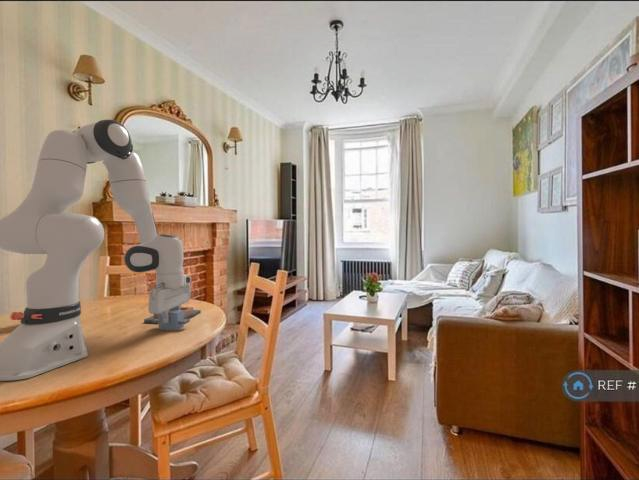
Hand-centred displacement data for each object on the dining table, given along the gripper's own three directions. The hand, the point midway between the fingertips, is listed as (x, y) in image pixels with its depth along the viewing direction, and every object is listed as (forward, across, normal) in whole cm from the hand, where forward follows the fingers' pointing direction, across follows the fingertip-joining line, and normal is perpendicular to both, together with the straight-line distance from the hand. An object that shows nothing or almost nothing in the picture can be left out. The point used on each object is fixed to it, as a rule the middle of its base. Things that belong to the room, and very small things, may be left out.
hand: (171, 320), depth 118 cm
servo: (+3, 0, 0) cm, 3 cm away
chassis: (+3, +13, +7) cm, 15 cm away
